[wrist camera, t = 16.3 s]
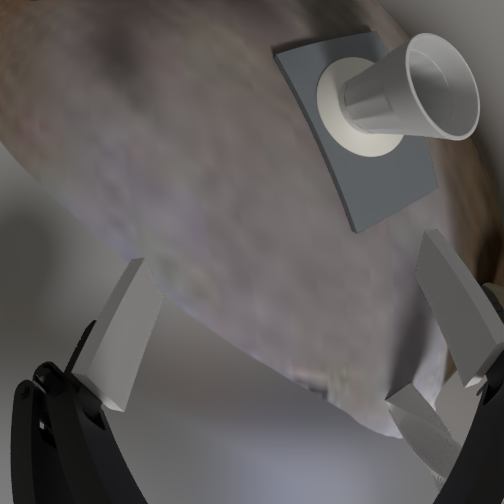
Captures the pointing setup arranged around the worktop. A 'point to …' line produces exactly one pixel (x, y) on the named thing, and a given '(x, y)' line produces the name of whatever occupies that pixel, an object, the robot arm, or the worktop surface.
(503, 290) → the flower pot
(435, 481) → the skyscraper
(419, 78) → the cup
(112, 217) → the worktop surface
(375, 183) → the board
